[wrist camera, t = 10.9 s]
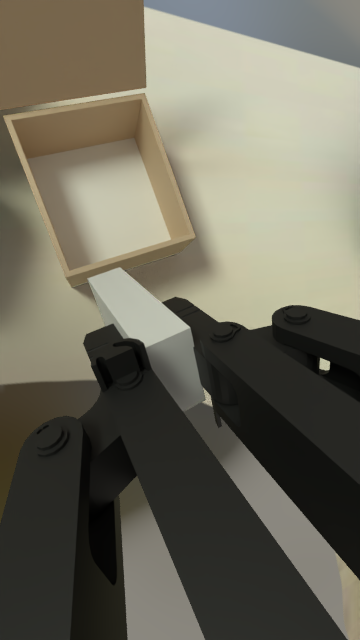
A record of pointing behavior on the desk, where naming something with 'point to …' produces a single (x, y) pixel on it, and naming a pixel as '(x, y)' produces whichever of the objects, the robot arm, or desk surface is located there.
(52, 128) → the box
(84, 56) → the mailer lid
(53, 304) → the desk surface
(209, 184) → the desk surface
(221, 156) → the desk surface
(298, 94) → the desk surface
